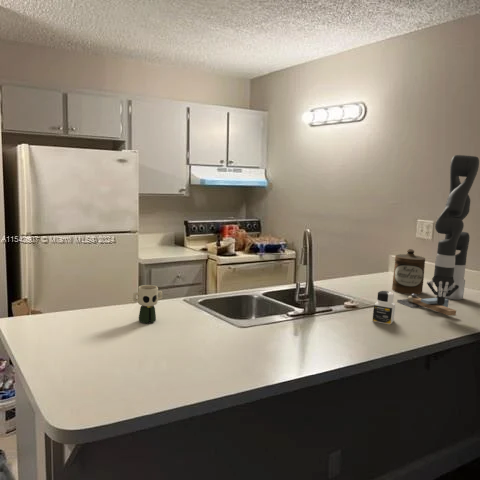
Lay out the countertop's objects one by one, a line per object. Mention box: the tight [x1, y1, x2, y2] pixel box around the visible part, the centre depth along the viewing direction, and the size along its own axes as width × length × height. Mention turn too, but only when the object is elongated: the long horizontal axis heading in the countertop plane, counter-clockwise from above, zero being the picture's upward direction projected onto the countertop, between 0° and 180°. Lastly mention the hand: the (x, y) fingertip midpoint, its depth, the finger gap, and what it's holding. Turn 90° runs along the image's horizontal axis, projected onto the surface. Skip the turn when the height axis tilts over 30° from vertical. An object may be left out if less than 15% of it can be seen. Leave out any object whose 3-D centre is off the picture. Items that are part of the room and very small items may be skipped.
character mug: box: [132, 284, 163, 324], centre depth 171 cm, size 11×7×13 cm, turn 119°
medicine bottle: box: [372, 290, 396, 325], centre depth 188 cm, size 7×7×12 cm
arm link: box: [407, 295, 457, 317], centre depth 208 cm, size 24×5×2 cm, turn 24°
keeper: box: [421, 297, 450, 308], centre depth 208 cm, size 12×4×5 cm, turn 112°
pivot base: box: [396, 293, 424, 309], centre depth 217 cm, size 10×10×5 cm
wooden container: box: [391, 248, 426, 295], centre depth 242 cm, size 15×15×22 cm
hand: (440, 304), depth 199 cm, fingers closed
